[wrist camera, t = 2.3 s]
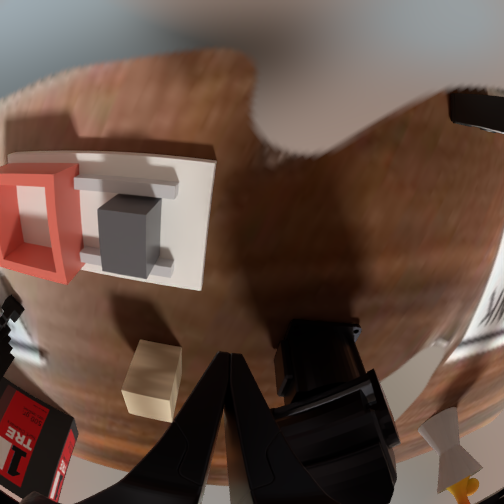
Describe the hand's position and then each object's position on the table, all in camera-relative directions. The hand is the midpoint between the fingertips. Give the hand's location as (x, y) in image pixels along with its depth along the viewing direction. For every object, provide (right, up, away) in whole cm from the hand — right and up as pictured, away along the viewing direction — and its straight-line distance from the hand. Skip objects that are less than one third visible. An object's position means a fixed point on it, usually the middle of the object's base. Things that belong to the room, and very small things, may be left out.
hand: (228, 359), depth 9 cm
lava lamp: (+36, -28, +28) cm, 53 cm away
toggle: (-6, +5, +8) cm, 12 cm away
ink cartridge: (+17, +14, +5) cm, 23 cm away
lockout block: (-8, -6, +16) cm, 19 cm away
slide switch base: (-10, +7, +9) cm, 15 cm away
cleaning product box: (-39, -25, +25) cm, 53 cm away
